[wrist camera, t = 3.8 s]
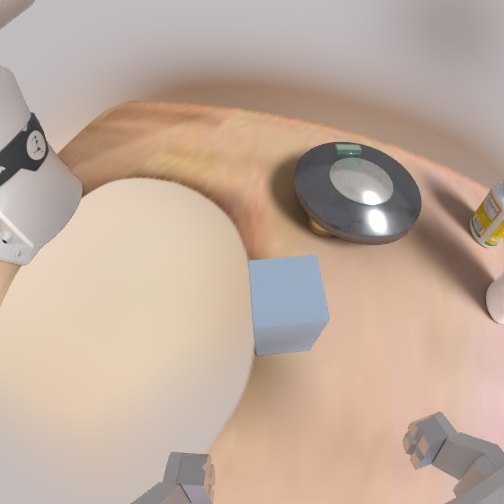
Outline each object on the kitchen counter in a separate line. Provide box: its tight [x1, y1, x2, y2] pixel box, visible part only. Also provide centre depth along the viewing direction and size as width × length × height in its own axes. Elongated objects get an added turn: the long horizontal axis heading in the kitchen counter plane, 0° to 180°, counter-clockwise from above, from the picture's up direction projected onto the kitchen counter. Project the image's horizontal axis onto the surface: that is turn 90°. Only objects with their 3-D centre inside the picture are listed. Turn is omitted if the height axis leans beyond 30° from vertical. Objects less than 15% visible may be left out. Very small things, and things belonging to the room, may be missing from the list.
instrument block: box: [248, 255, 330, 356], centre depth 20 cm, size 4×4×8 cm
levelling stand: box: [295, 142, 421, 245], centre depth 28 cm, size 14×14×5 cm
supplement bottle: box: [470, 180, 504, 248], centre depth 24 cm, size 5×5×10 cm
